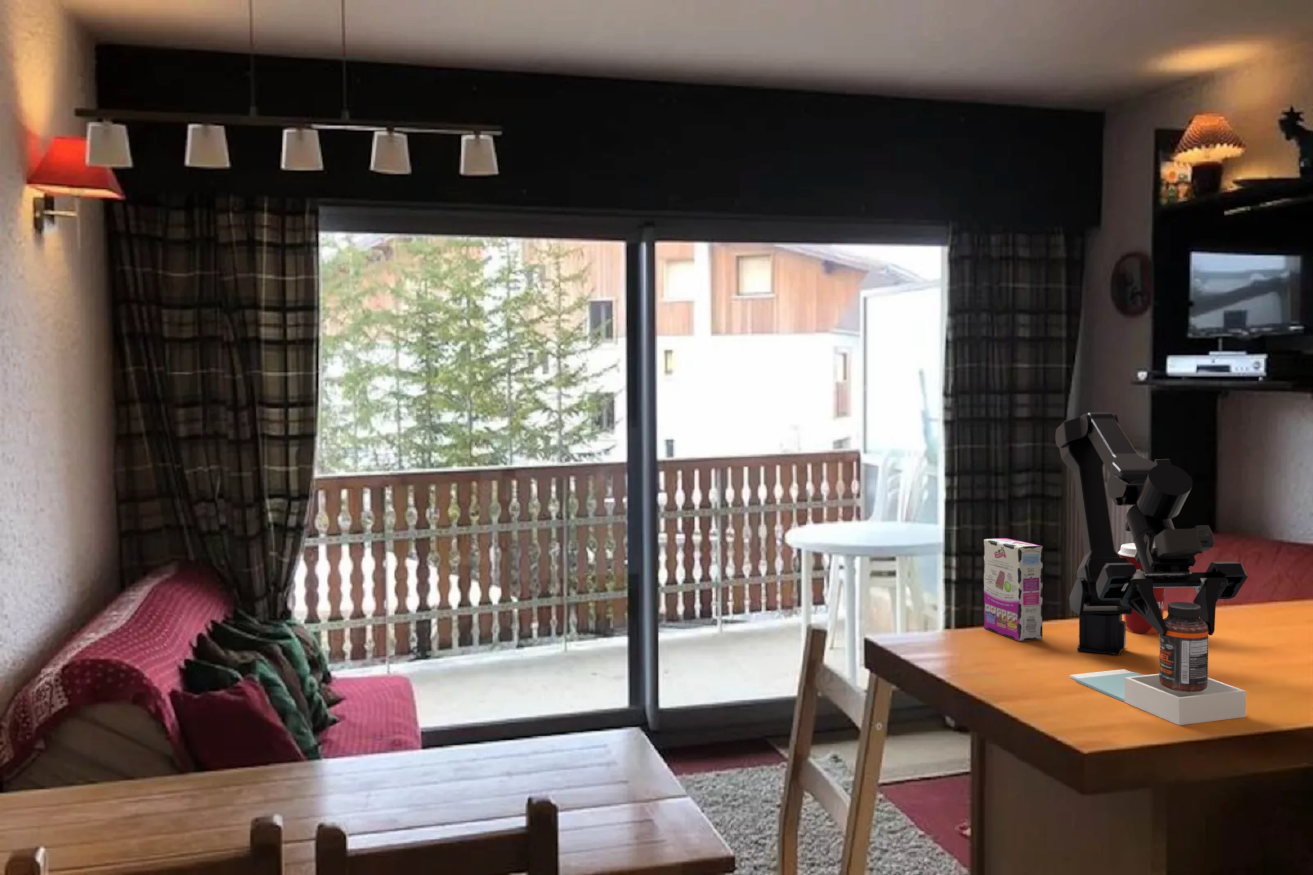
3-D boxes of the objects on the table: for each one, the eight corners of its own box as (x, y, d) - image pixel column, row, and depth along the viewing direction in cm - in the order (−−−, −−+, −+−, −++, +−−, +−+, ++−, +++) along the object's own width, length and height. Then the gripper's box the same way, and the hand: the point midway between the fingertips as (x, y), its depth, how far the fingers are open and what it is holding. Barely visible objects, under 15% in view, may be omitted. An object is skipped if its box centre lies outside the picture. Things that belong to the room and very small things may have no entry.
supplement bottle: (1150, 681, 149) (1150, 600, 149) (1191, 679, 150) (1192, 599, 149) (1174, 694, 143) (1175, 610, 143) (1217, 692, 144) (1218, 608, 143)
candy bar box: (1044, 640, 186) (1044, 545, 185) (1019, 642, 184) (1019, 547, 184) (1006, 626, 197) (1006, 536, 196) (982, 628, 195) (981, 538, 194)
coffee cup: (1177, 635, 187) (1178, 549, 186) (1129, 636, 187) (1130, 550, 186) (1155, 624, 195) (1156, 541, 194) (1110, 624, 195) (1110, 542, 195)
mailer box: (1178, 725, 140) (1178, 698, 140) (1067, 677, 163) (1067, 655, 163) (1245, 716, 143) (1245, 690, 143) (1126, 671, 166) (1126, 648, 165)
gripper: (1103, 506, 150) (1133, 602, 139) (1242, 503, 148) (1282, 600, 138) (1083, 552, 158) (1110, 646, 148) (1215, 550, 157) (1251, 645, 147)
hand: (1188, 634), depth 145 cm, fingers closed on supplement bottle, 6 cm apart
